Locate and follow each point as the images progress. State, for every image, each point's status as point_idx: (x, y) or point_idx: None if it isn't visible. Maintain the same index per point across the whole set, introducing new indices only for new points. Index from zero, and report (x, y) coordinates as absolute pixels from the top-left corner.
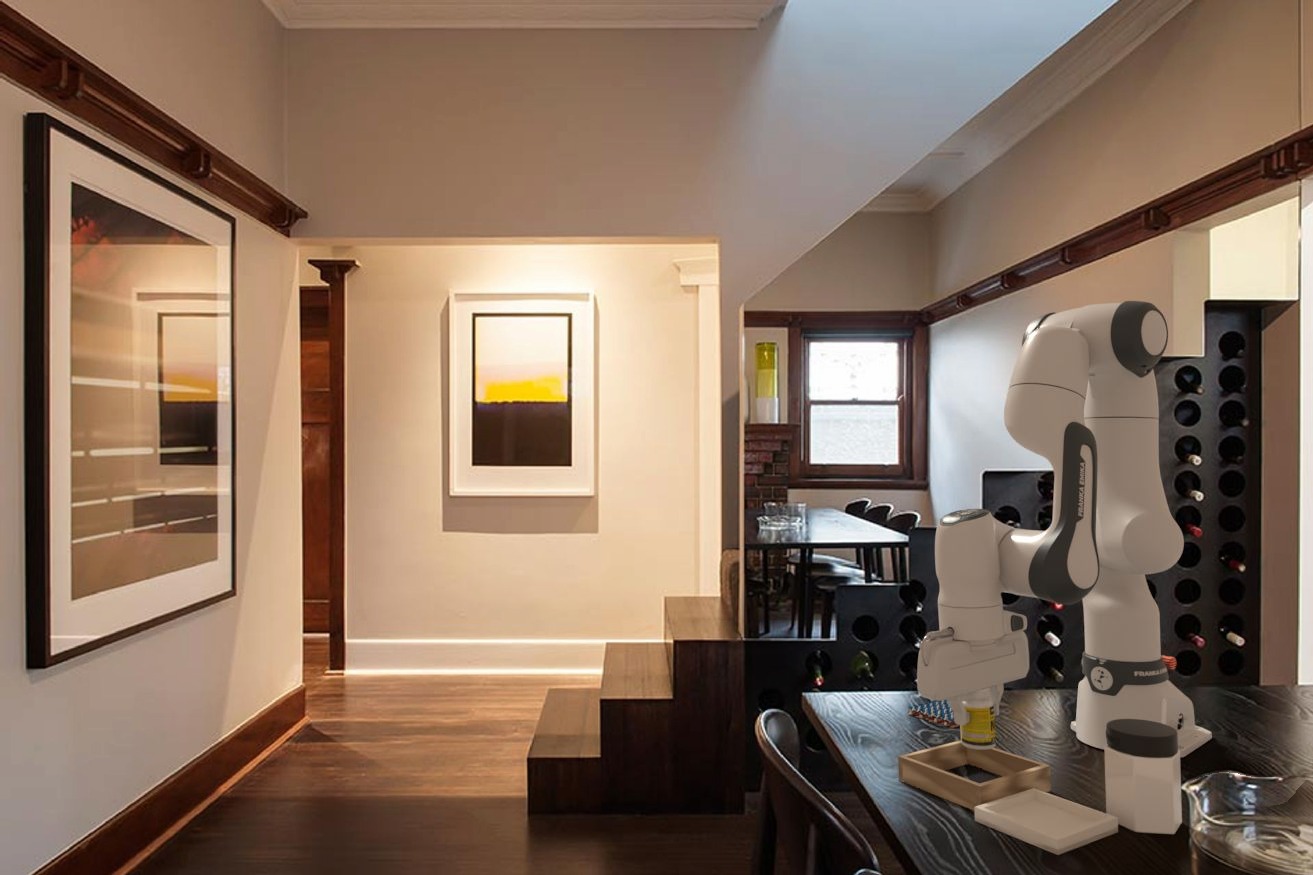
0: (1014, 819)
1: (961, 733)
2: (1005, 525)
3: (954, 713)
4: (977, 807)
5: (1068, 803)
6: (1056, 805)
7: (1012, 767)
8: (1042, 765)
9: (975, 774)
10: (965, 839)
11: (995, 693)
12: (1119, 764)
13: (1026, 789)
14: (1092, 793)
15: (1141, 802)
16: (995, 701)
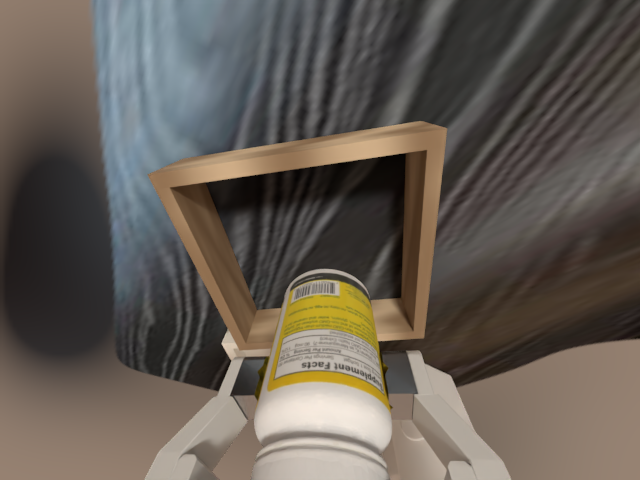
0: (269, 351)
1: (281, 310)
2: None
3: (222, 388)
4: (224, 345)
5: None
6: None
7: (409, 265)
8: (412, 333)
9: (365, 200)
10: (190, 350)
11: (447, 460)
12: (391, 472)
13: None
14: (451, 327)
15: None
16: (419, 427)
